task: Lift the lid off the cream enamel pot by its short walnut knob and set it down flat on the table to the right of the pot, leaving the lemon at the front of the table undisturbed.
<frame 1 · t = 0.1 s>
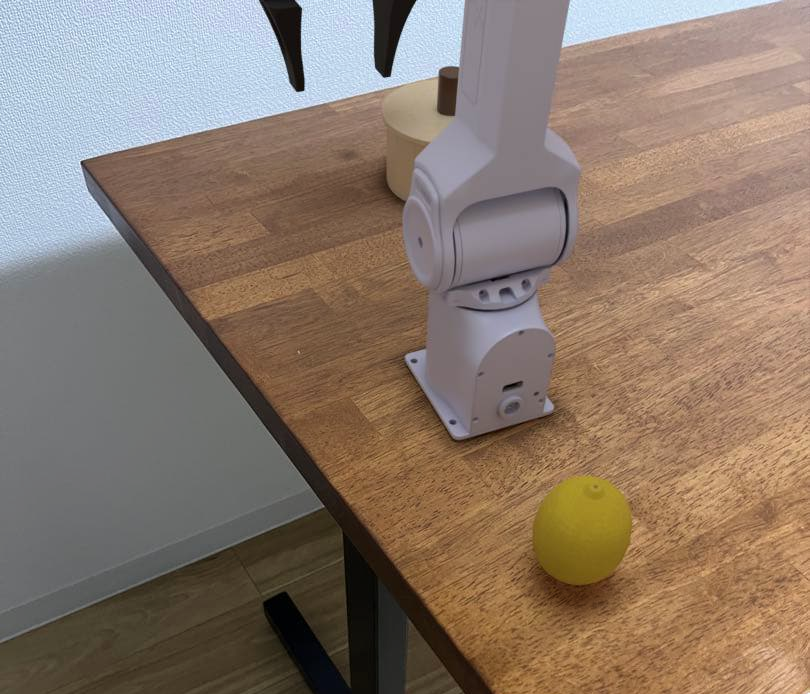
hand: (340, 79, 68), 10 cm above the table, tool pointing down, fingers open, 7 cm apart
lemon: (568, 573, 50), on the table
lid: (449, 115, 73), point 6 cm above the table, touching pot
pot: (445, 179, 78), on the table
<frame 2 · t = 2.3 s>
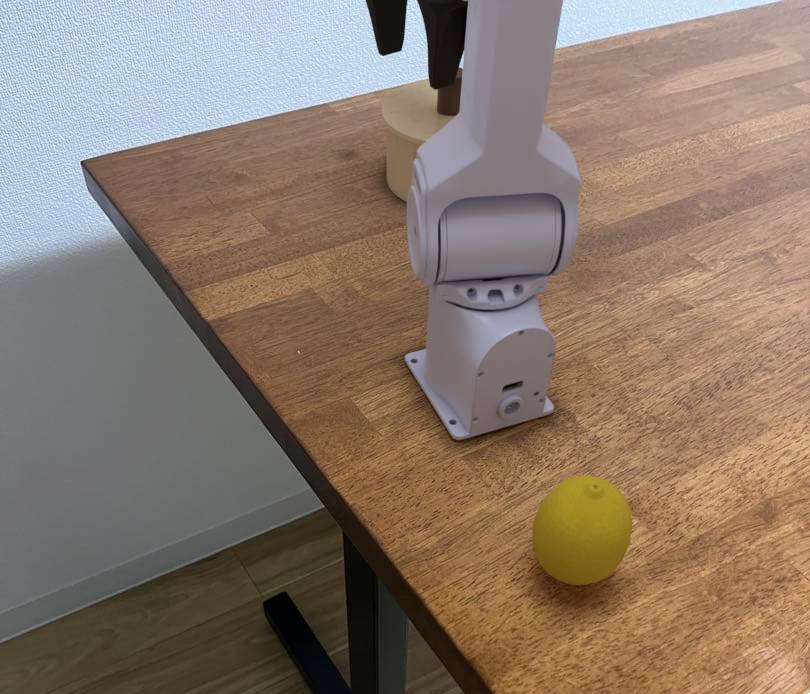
hand: (415, 68, 69), 10 cm above the table, tool pointing down, fingers open, 7 cm apart
nothing on the table moved.
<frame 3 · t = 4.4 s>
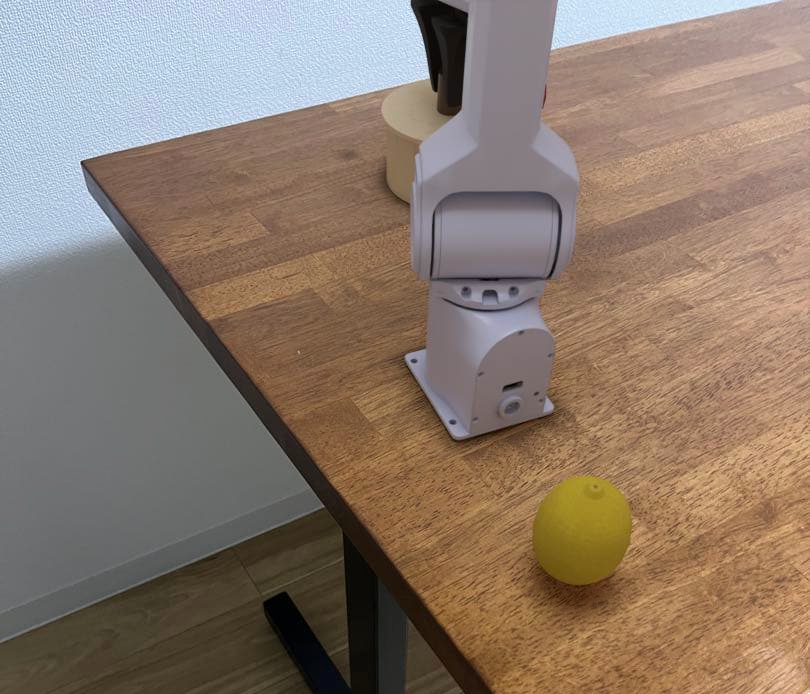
hand: (450, 97, 72), 8 cm above the table, tool pointing down, fingers closed on lid, 2 cm apart
lid: (449, 115, 73), point 6 cm above the table, touching gripper, pot
everything else where it was.
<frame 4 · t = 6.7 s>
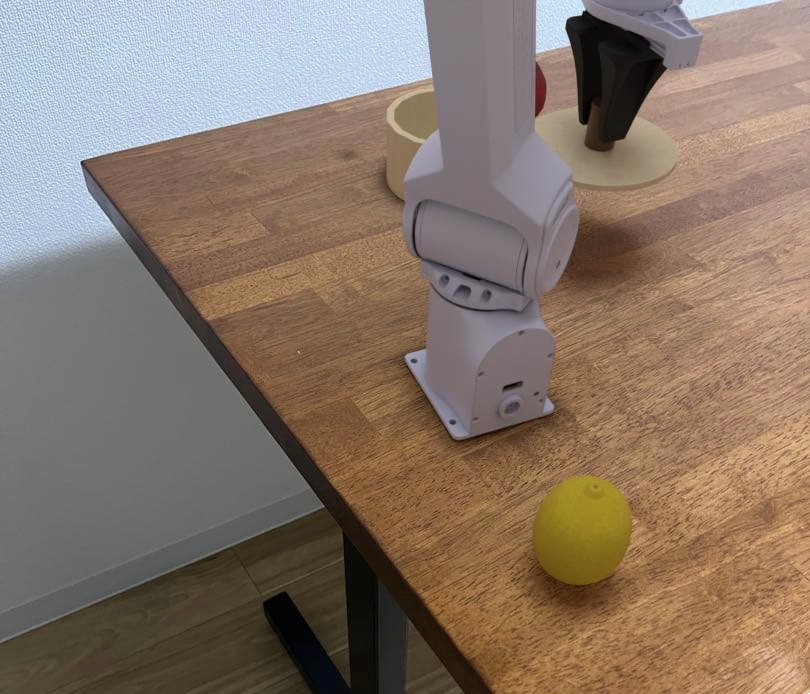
hand: (601, 130, 63), 10 cm above the table, tool pointing down, fingers closed on lid, 2 cm apart
lid: (597, 150, 64), point 9 cm above the table, touching gripper
everything else where it was.
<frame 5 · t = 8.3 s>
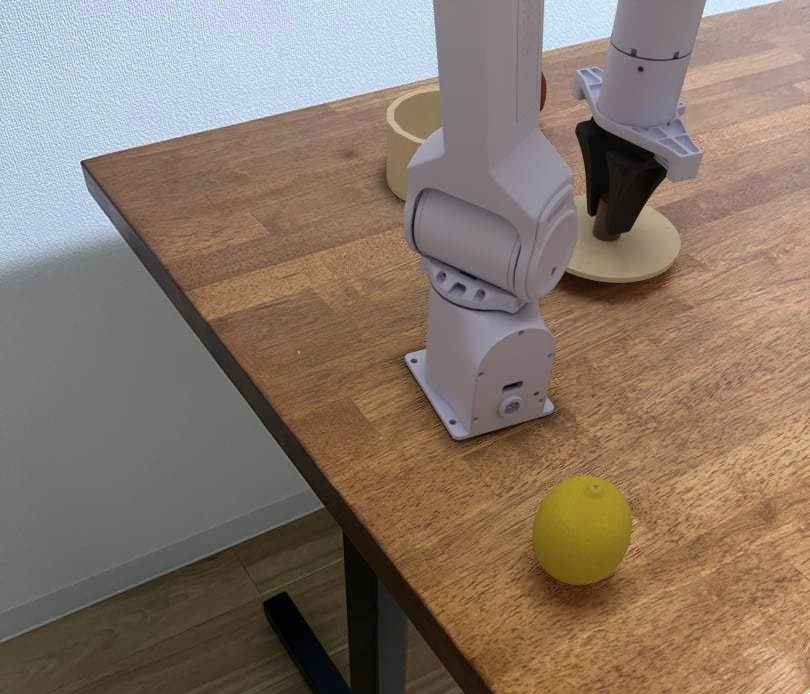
hand: (608, 222, 67), 4 cm above the table, tool pointing down, fingers closed on lid, 2 cm apart
lid: (605, 239, 68), point 2 cm above the table, touching gripper
everything else where it was.
when the fingers open (2 cm above the table, at t = 9.0 s): lid stays where it is, point 1 cm above the table.
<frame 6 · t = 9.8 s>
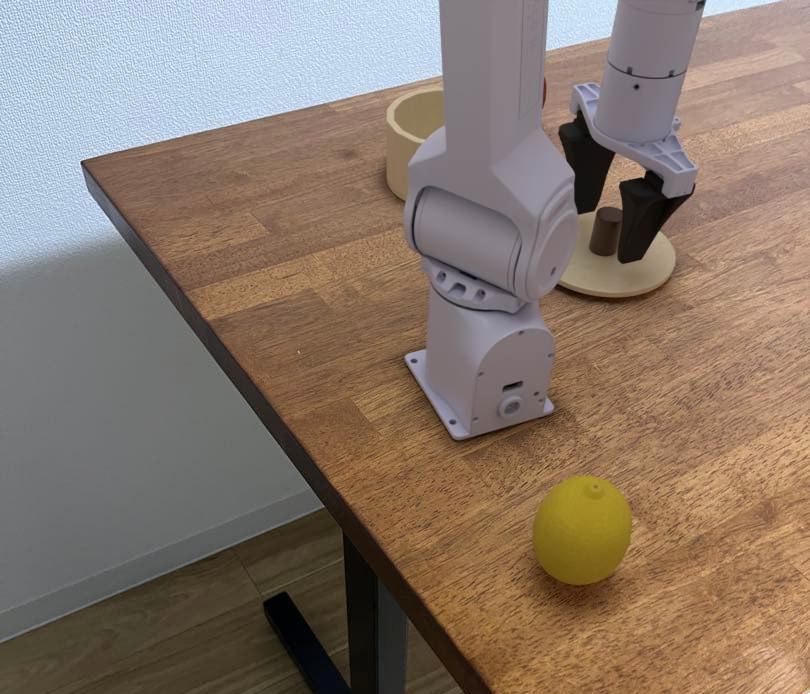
hand: (605, 235, 68), 2 cm above the table, tool pointing down, fingers open, 7 cm apart
lid: (601, 253, 70), point 1 cm above the table
everything else where it was.
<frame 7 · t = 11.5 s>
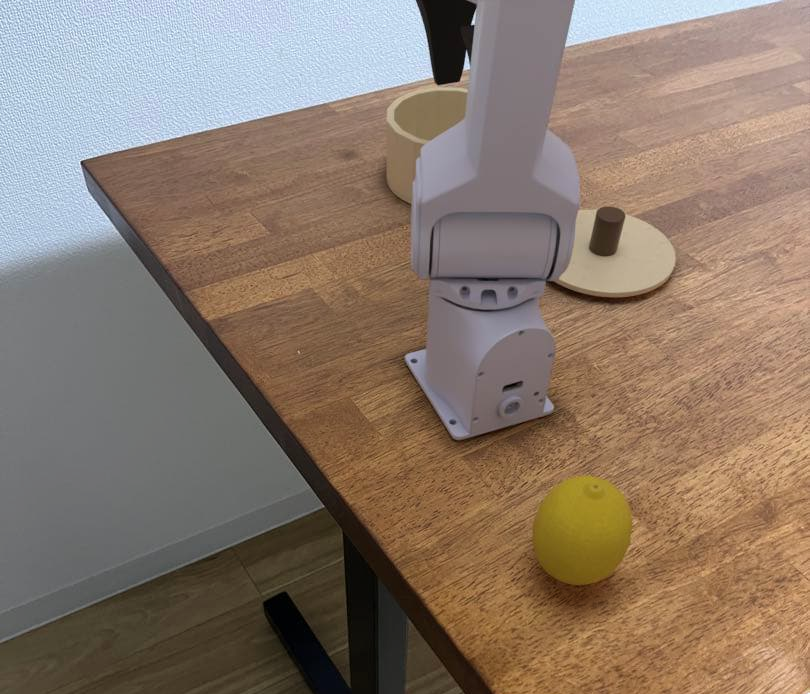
hand: (466, 102, 65), 10 cm above the table, tool pointing down, fingers open, 7 cm apart
nothing on the table moved.
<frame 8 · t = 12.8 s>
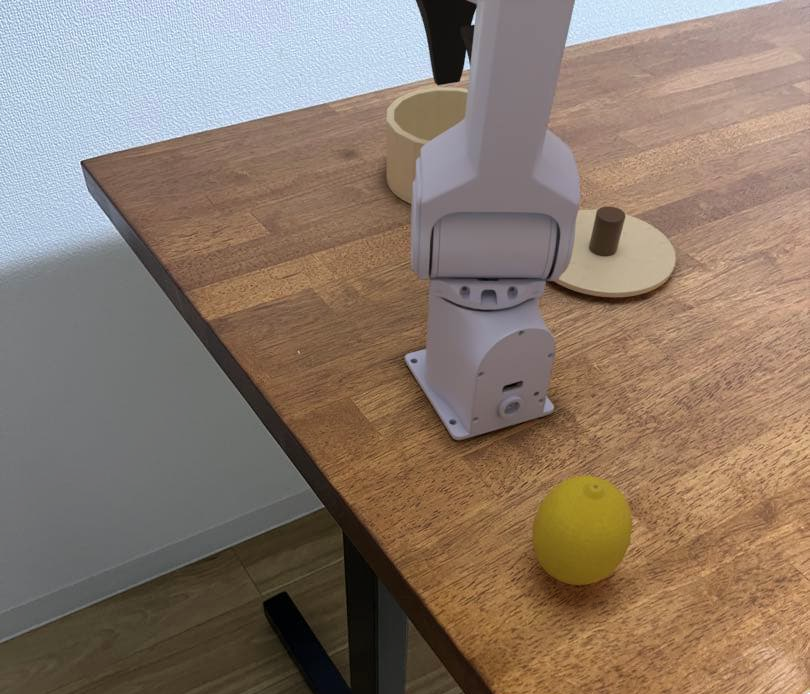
hand: (466, 102, 65), 10 cm above the table, tool pointing down, fingers open, 7 cm apart
nothing on the table moved.
at the end: lid inside the target area (0.1 cm from its centre), point 0.6 cm above the table; lid tilted 0°; lemon moved 0.2 cm from its start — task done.
